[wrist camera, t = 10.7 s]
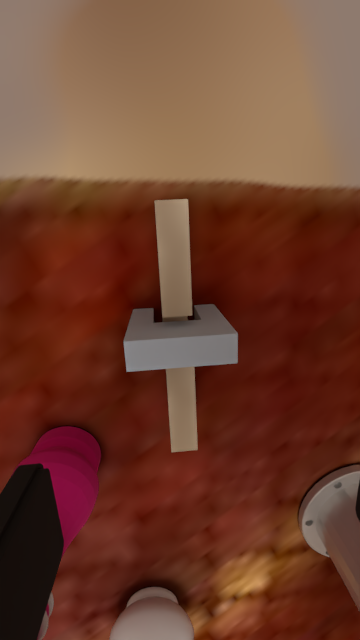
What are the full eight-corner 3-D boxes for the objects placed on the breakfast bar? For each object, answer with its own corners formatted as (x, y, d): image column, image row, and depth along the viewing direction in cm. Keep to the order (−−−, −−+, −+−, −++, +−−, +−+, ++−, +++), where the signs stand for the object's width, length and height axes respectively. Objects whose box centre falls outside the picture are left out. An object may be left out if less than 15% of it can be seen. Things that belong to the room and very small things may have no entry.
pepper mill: (15, 438, 28) (-286, 877, 9) (84, 409, 28) (-74, 798, 9) (54, 492, 30) (-123, 943, 11) (118, 466, 30) (52, 880, 11)
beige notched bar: (180, 207, 23) (188, 198, 18) (189, 406, 29) (197, 449, 23) (154, 208, 23) (154, 200, 18) (168, 408, 28) (171, 452, 23)
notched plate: (213, 325, 26) (237, 363, 19) (135, 331, 26) (126, 371, 18) (213, 304, 26) (237, 333, 18) (133, 309, 25) (123, 341, 18)
